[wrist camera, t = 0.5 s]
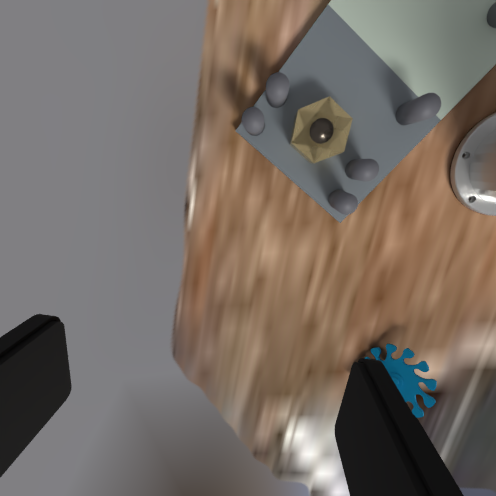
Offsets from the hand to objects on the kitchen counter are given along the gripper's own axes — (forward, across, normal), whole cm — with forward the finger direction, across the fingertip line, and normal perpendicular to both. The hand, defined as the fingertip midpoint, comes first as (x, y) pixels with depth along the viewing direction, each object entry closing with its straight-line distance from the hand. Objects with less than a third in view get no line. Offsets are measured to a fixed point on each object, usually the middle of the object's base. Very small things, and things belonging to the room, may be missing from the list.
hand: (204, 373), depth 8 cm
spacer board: (+29, -14, -20) cm, 38 cm away
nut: (+28, -7, -11) cm, 31 cm away
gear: (+30, -24, +22) cm, 44 cm away
